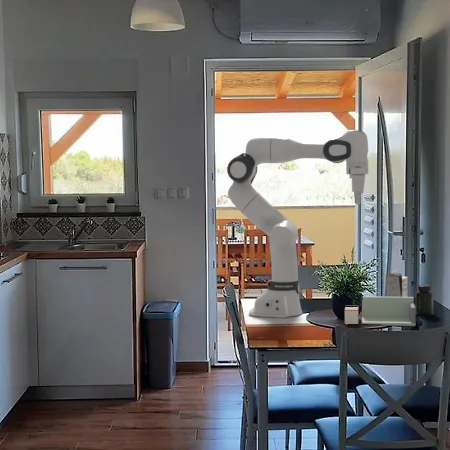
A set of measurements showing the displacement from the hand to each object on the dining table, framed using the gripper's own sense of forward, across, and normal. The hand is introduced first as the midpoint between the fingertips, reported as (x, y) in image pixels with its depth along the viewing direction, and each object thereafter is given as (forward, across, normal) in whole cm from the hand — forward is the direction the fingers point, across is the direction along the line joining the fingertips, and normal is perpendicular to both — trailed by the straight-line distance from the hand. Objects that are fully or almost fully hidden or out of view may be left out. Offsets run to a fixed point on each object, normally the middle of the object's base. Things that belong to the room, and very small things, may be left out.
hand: (357, 203), depth 278 cm
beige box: (+46, +14, -3) cm, 48 cm away
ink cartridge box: (+46, -26, +19) cm, 56 cm away
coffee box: (+46, -5, +15) cm, 49 cm away
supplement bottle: (+46, -2, +27) cm, 53 cm away
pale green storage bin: (+46, +13, +11) cm, 49 cm away
